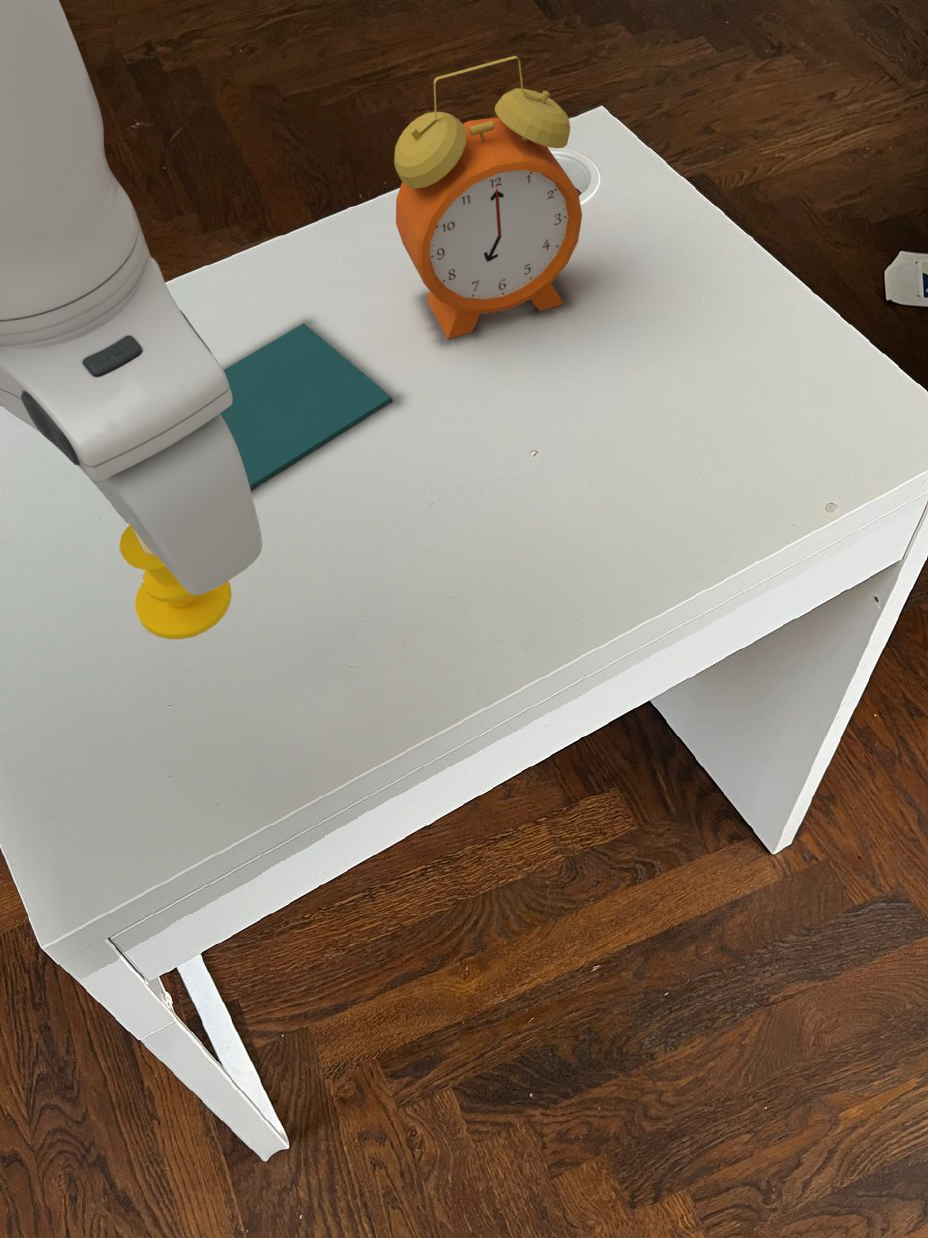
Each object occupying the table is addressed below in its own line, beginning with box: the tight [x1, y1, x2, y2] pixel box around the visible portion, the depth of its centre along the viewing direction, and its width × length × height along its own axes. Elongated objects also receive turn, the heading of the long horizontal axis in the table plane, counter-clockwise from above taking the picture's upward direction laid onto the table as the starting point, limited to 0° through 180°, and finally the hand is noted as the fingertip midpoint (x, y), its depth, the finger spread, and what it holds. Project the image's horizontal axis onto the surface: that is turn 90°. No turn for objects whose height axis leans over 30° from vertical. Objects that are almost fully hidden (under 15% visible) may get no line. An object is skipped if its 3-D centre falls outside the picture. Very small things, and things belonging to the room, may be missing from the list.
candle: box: [119, 524, 233, 640], centre depth 57 cm, size 5×5×16 cm
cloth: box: [220, 322, 393, 490], centre depth 89 cm, size 18×12×1 cm, turn 129°
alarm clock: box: [393, 55, 583, 340], centre depth 86 cm, size 13×6×20 cm, turn 110°
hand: (150, 525), depth 58 cm, fingers closed on candle
